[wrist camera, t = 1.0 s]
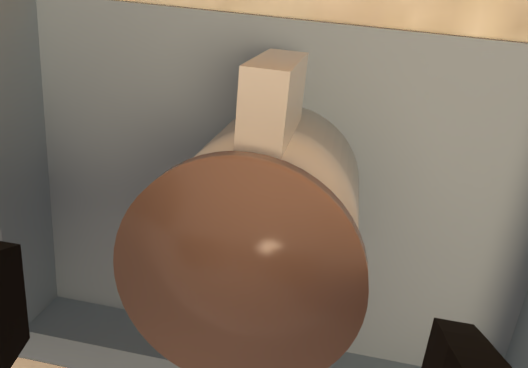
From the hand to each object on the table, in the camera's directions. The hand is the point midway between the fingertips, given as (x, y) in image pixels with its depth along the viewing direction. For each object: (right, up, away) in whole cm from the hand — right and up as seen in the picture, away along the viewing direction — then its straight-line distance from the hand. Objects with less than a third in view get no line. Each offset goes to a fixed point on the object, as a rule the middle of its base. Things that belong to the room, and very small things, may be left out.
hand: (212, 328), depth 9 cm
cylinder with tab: (+1, +3, +7) cm, 8 cm away
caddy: (+1, +2, +8) cm, 8 cm away
